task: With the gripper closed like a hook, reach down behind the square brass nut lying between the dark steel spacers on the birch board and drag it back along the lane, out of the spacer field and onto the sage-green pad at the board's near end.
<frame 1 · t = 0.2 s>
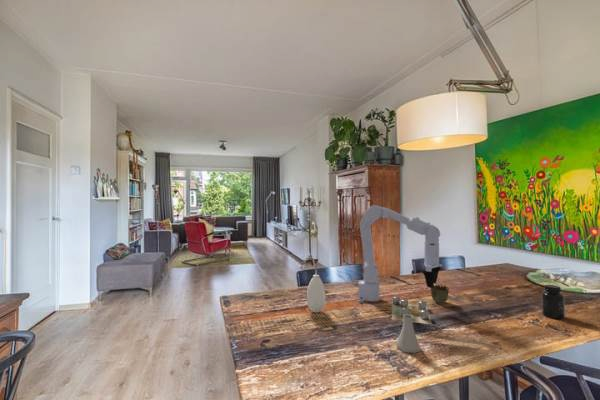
hand: (431, 284, 123), 10 cm above the table, fingers open, 7 cm apart
brass nut: (412, 312, 114), point 1 cm above the table, touching birch board
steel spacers: (409, 307, 116), on the birch board, point 3 cm above the table
cup: (439, 305, 126), on the table
birch board: (410, 315, 115), on the table
flask: (408, 348, 90), on the table
sauce bottle: (316, 312, 119), on the table
supplement bottle: (553, 316, 113), on the table
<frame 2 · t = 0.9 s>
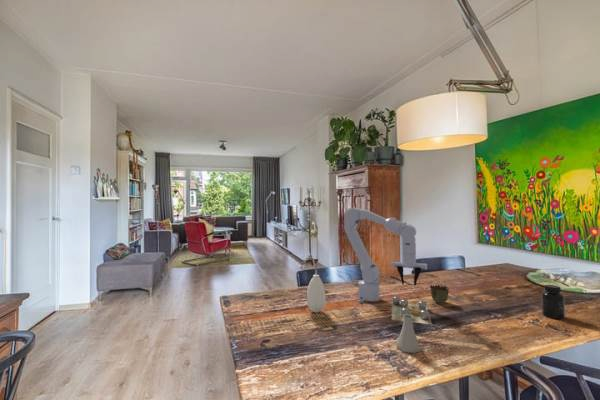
hand: (408, 284, 123), 10 cm above the table, fingers open, 4 cm apart
nothing on the table moved.
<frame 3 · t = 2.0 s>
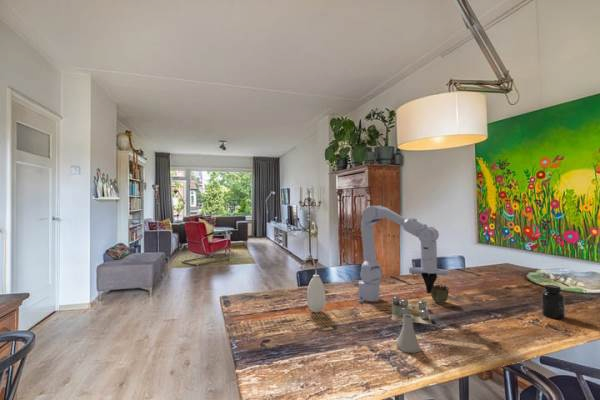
hand: (428, 292, 113), 10 cm above the table, fingers closed
nothing on the table moved.
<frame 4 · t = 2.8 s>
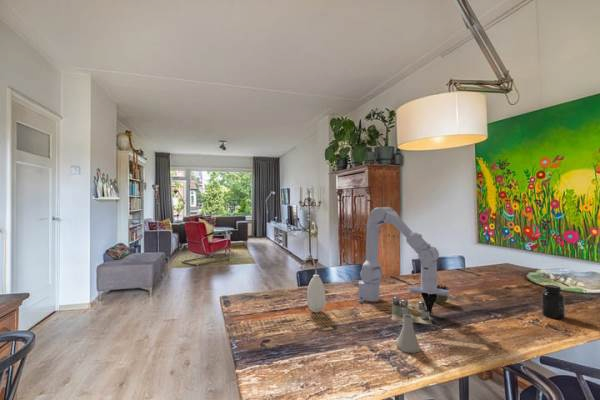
hand: (429, 312, 113), 2 cm above the table, fingers closed
nothing on the table moved.
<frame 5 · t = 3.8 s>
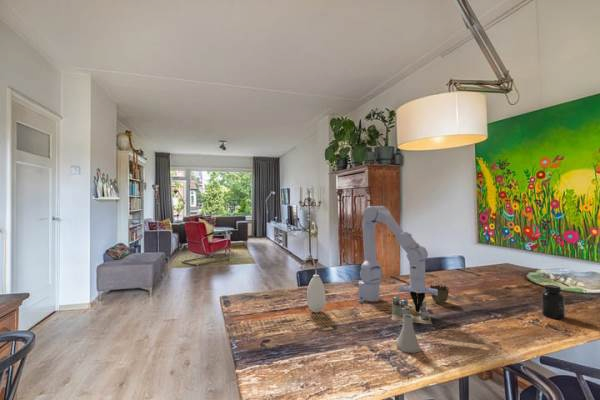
hand: (417, 311, 114), 2 cm above the table, fingers closed
brass nut: (409, 312, 115), point 1 cm above the table, touching gripper
everything else where it was.
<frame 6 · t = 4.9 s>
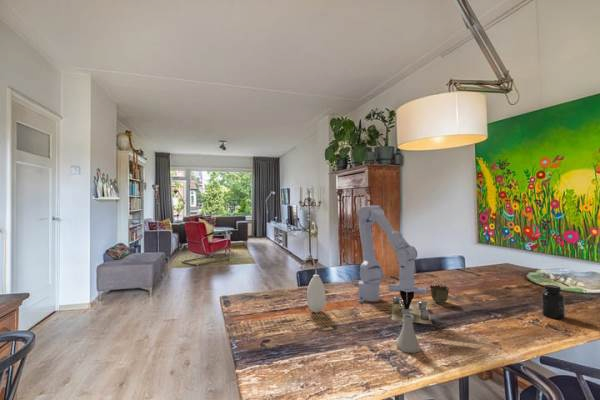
hand: (406, 310, 115), 2 cm above the table, fingers closed
brass nut: (399, 311, 116), point 1 cm above the table, touching birch board, gripper
everything else where it was.
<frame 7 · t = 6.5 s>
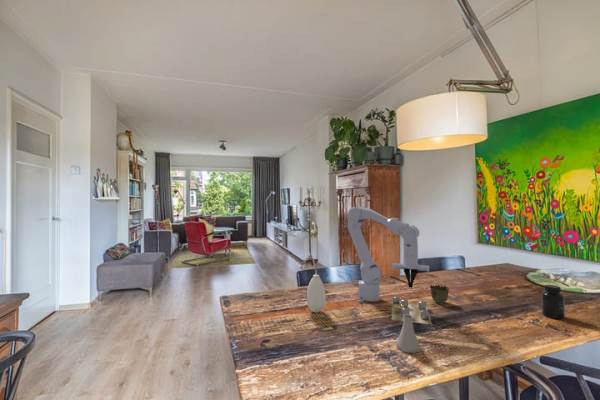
hand: (410, 286, 120), 10 cm above the table, fingers closed
brass nut: (399, 311, 116), point 1 cm above the table, touching birch board
everything else where it was.
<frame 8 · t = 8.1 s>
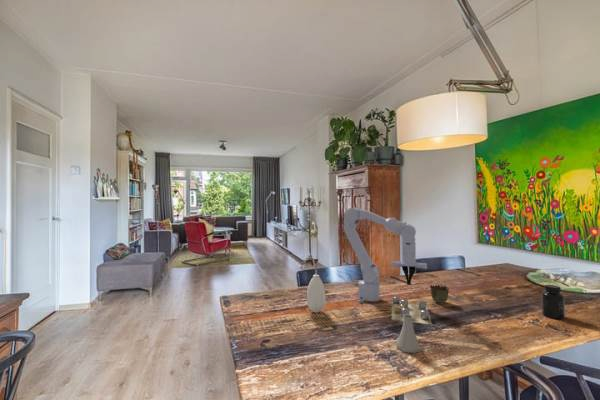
hand: (408, 283, 124), 10 cm above the table, fingers closed
nothing on the table moved.
at the end: brass nut inside the target area (0.8 cm from its centre), point 1.2 cm above the table; brass nut moved 5.2 cm from its start; the gripper is holding nothing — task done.
